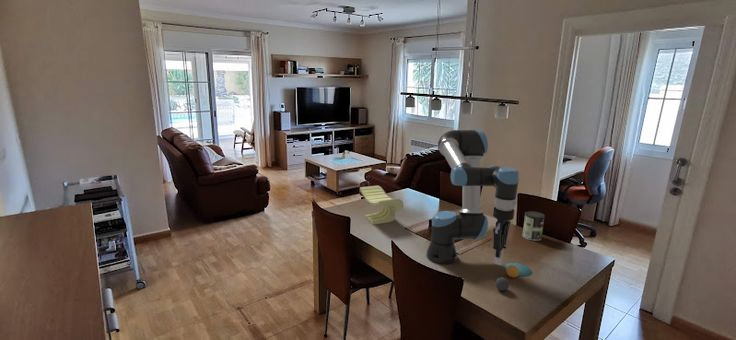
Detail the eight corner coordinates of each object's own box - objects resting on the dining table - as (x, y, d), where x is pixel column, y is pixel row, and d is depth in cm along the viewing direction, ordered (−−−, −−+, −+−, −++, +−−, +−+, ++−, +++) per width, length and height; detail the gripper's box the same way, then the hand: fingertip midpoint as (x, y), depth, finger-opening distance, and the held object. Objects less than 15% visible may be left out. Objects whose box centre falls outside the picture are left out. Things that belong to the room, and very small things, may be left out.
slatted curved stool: (402, 226, 224) (403, 198, 220) (378, 229, 218) (379, 201, 214) (381, 209, 251) (381, 184, 247) (359, 212, 245) (360, 187, 240)
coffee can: (542, 236, 214) (546, 213, 210) (540, 242, 205) (543, 218, 202) (523, 232, 219) (526, 209, 215) (520, 238, 210) (523, 214, 207)
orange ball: (509, 280, 166) (510, 269, 164) (503, 273, 171) (504, 263, 170) (520, 279, 166) (522, 268, 165) (514, 273, 172) (516, 262, 170)
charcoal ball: (498, 293, 155) (499, 281, 154) (492, 286, 160) (493, 275, 159) (510, 292, 156) (512, 281, 154) (504, 285, 161) (506, 274, 160)
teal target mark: (512, 276, 169) (512, 276, 169) (500, 263, 180) (500, 263, 180) (536, 275, 170) (536, 275, 170) (523, 262, 182) (523, 262, 182)
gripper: (508, 214, 134) (501, 273, 140) (519, 205, 144) (512, 260, 150) (488, 210, 138) (482, 266, 144) (500, 201, 148) (494, 254, 154)
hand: (497, 263), depth 147 cm, fingers closed
